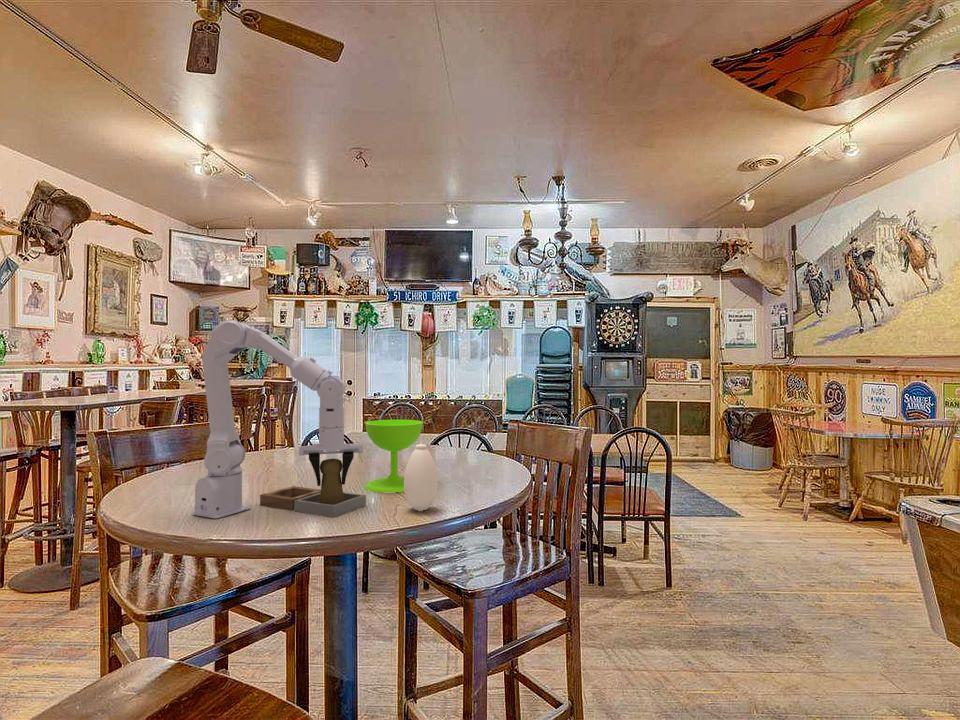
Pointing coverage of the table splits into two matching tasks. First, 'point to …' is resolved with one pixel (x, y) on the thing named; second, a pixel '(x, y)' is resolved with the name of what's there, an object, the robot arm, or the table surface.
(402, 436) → the wineglass
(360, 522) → the table surface
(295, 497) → the socket block
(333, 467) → the cork
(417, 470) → the sauce bottle
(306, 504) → the tray
